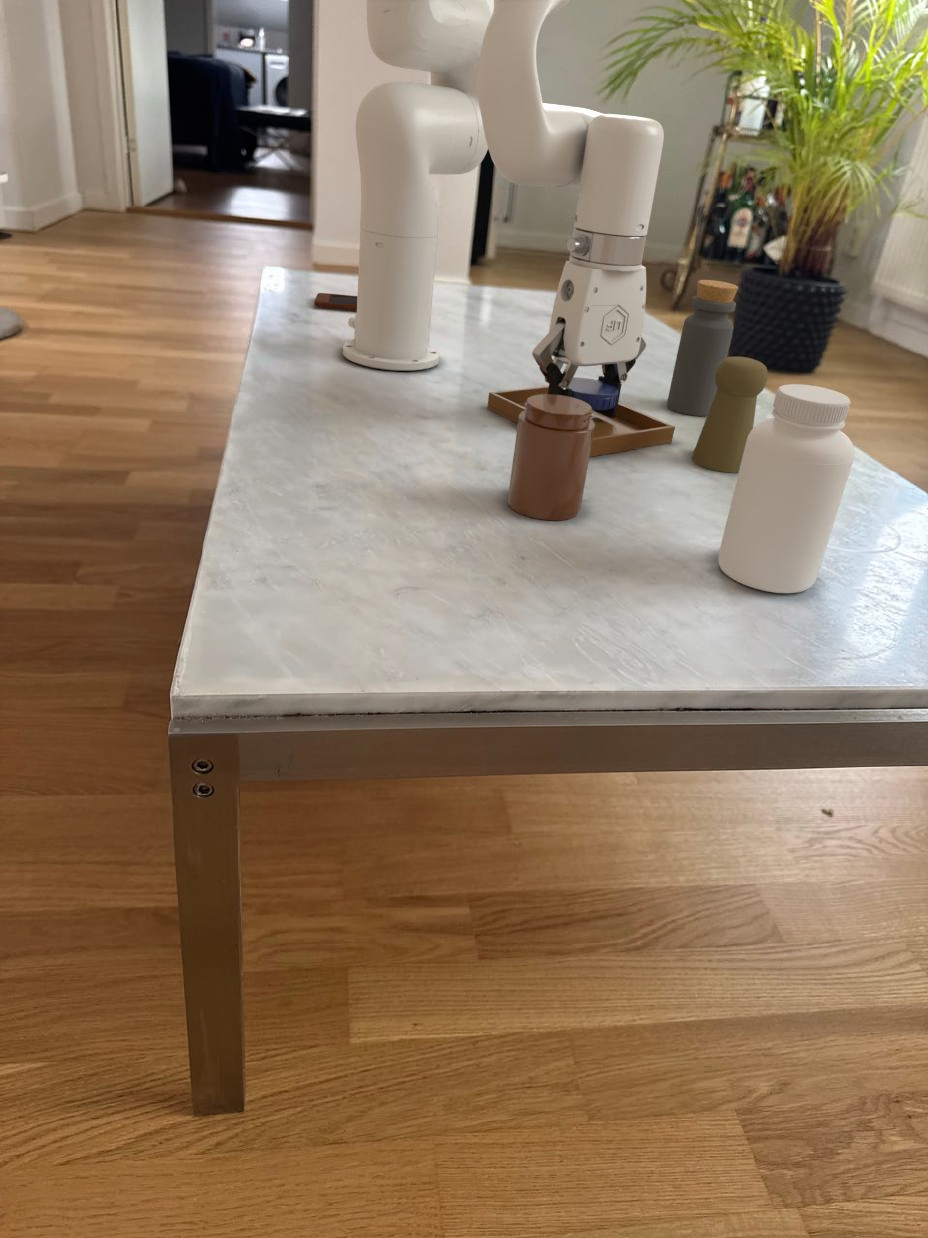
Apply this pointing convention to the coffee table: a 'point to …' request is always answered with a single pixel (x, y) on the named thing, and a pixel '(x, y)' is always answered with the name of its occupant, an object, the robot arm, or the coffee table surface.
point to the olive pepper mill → (730, 414)
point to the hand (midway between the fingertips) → (580, 416)
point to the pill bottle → (788, 491)
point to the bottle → (702, 348)
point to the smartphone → (336, 301)
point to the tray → (609, 433)
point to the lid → (594, 393)
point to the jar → (551, 457)
